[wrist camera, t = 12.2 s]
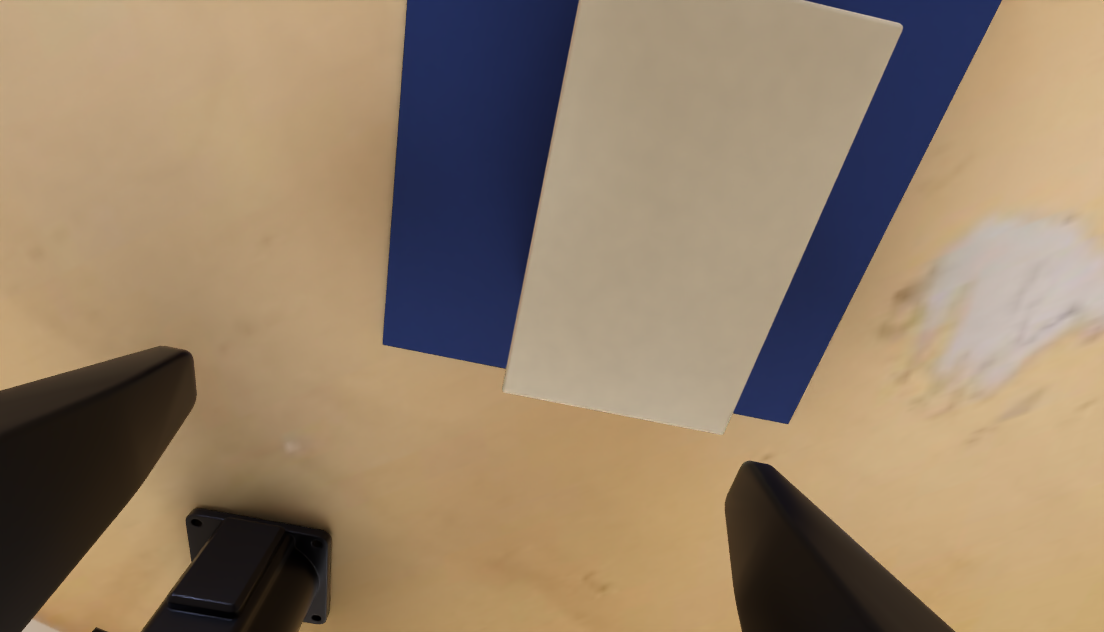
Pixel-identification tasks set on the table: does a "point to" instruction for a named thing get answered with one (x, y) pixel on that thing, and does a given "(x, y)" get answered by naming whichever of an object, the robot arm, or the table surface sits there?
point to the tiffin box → (684, 197)
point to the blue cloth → (521, 156)
